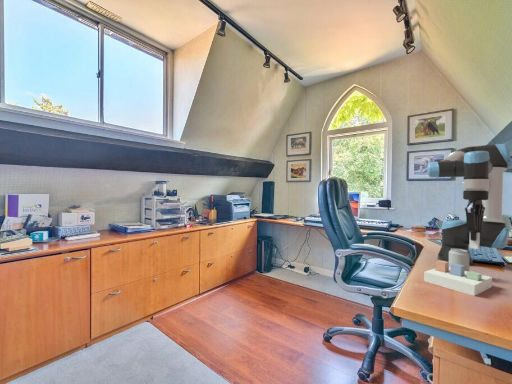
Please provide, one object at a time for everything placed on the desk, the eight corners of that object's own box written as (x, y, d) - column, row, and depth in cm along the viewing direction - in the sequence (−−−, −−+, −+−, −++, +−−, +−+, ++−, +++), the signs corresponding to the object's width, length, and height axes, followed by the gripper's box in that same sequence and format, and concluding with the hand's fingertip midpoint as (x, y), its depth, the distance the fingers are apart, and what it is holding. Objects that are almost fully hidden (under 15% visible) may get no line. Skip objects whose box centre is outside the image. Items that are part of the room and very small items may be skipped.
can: (473, 278, 108) (473, 252, 108) (454, 277, 110) (454, 251, 110) (462, 273, 116) (463, 248, 116) (444, 271, 117) (445, 247, 117)
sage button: (470, 283, 100) (470, 271, 100) (481, 286, 97) (481, 273, 97) (466, 284, 98) (466, 272, 98) (477, 287, 95) (478, 275, 95)
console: (443, 274, 114) (443, 265, 114) (491, 286, 99) (492, 277, 99) (424, 280, 105) (424, 271, 105) (474, 296, 90) (474, 285, 90)
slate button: (453, 274, 104) (454, 263, 104) (464, 277, 101) (464, 265, 101) (450, 276, 103) (450, 264, 103) (460, 278, 99) (460, 266, 99)
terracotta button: (439, 270, 109) (439, 259, 109) (448, 273, 106) (448, 262, 106) (435, 272, 107) (435, 261, 107) (444, 274, 104) (445, 263, 104)
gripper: (470, 190, 104) (469, 244, 104) (457, 189, 97) (455, 248, 97) (494, 190, 97) (492, 248, 97) (481, 189, 90) (480, 252, 91)
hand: (474, 248), depth 97 cm, fingers closed
